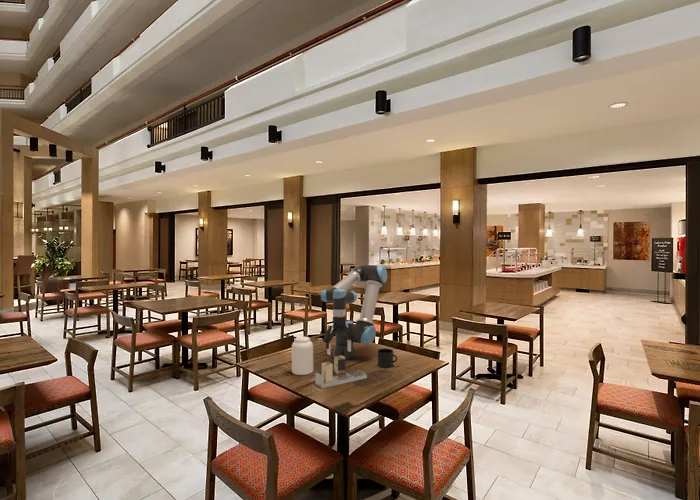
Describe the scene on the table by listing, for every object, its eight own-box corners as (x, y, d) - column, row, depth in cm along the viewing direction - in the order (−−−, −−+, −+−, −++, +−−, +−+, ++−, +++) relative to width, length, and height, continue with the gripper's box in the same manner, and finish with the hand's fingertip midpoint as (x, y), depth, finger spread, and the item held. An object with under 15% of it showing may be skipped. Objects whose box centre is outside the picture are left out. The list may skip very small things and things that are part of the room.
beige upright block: (341, 370, 220) (341, 355, 219) (345, 372, 216) (345, 357, 216) (334, 372, 217) (334, 356, 217) (338, 374, 213) (337, 358, 213)
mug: (395, 369, 222) (395, 353, 222) (376, 367, 226) (376, 352, 226) (398, 364, 231) (398, 349, 231) (379, 362, 235) (379, 348, 235)
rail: (315, 384, 198) (315, 363, 198) (359, 374, 213) (359, 355, 212) (321, 388, 192) (321, 367, 192) (366, 378, 207) (366, 358, 206)
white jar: (295, 376, 209) (295, 341, 209) (288, 370, 220) (288, 336, 220) (316, 373, 215) (316, 338, 215) (308, 367, 226) (308, 334, 226)
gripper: (323, 319, 206) (322, 357, 206) (360, 315, 219) (360, 351, 219) (317, 316, 213) (316, 354, 213) (354, 313, 226) (354, 348, 226)
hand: (339, 352), depth 216 cm, fingers open, 13 cm apart
